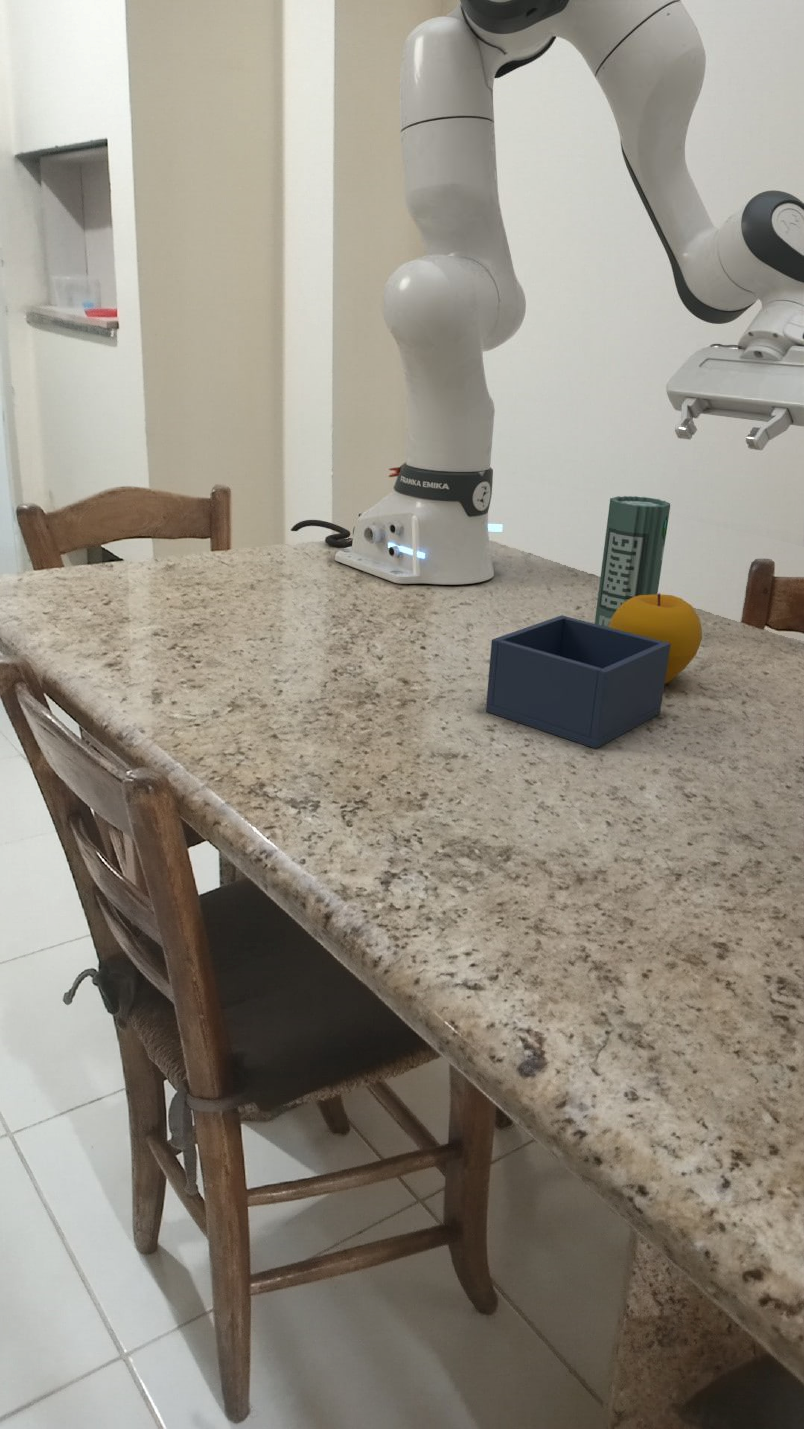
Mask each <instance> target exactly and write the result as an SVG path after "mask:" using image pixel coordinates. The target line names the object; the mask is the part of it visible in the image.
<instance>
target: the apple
mask: <svg viewBox="0 0 804 1429" xmlns="http://www.w3.org/2000/svg"><path fill="white" fill-rule="evenodd" d="M609 628H613V629H617V630H621V631H625V632H628V633H632V634H636V635H640V636H644V637H648V638H652V639H655V640H659V641H663V642H667V643H671V645H670V652H669V658H668V665H667V671H666V678H665V684H667V683H669V682H671V681H673V680H674V679H675V678H676V676H678V675H679V674H680V673H682V671H683V670H685V669H686V668H687V666H688V665H689V664H690V663H691V662H692V660H693V659H694V658H695V657H696V655H697V653H698V651H699V648H700V645H701V643H702V639H703V629H702V624H701V619H700V617H699V616H698V614H697V612H696V610H695V609H694V606H693V605H692V604H690V603H688V602H687V601H686V600H684V599H683V598H681V597H678V596H674V595H670V594H662V593H660V592H658V594H657V595H639V596H635V597H633V598H631V599H629V600H627V601H626V602H624V603H623V604H622V605H621V606H620V607H619V608H618V609H617V610H616V612H615V613H614V615H613V616H612V618H611V621H610V626H609Z"/></svg>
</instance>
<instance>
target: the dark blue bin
mask: <svg viewBox="0 0 804 1429" xmlns="http://www.w3.org/2000/svg"><path fill="white" fill-rule="evenodd" d="M670 645H671V643H667V642H663V641H659V640H655V639H652V638H648V637H644V636H640V635H636V634H632V633H628V632H625V631H621V630H617V629H613V628H609V627H605V626H601V625H597V624H595V622H589V621H585V620H581V619H578V618H573V617H570V616H567V615H562V614H561V615H558V616H556V617H552V618H550V619H547V620H543V621H541V622H538V623H535V624H533V625H529V626H527V627H523V628H520V629H518V630H515V631H511V632H509V633H506V634H503V635H501V636H498V637H495V638H492V639H491V645H490V657H489V669H488V678H487V679H488V681H487V692H486V704H485V712H486V713H490V714H492V715H495V716H499V717H502V718H504V719H507V720H510V721H513V722H516V723H519V724H522V725H525V726H528V727H530V728H534V729H536V730H539V731H542V732H546V733H548V734H550V735H554V736H557V737H559V738H563V739H566V740H569V741H571V742H575V743H577V744H580V745H583V746H587V747H589V748H592V749H595V750H597V749H598V748H601V747H602V746H604V745H607V743H609V742H611V741H613V740H615V739H617V738H619V737H620V736H622V735H624V734H626V733H628V732H629V731H632V730H633V729H635V728H636V727H639V726H641V725H642V724H644V723H646V722H648V721H650V720H652V719H653V718H655V717H657V716H659V715H660V714H661V710H662V704H663V696H664V691H665V684H666V683H665V678H666V671H667V665H668V658H669V652H670Z"/></svg>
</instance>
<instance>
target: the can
mask: <svg viewBox="0 0 804 1429" xmlns="http://www.w3.org/2000/svg"><path fill="white" fill-rule="evenodd" d="M670 511H671V503H670V502H668V501H666V500H661V498H653V497H646V496H636V495H635V496H634V495H633V496H632V495H628V496H627V495H624V496H620V495H619V496H618V495H617V496H614V497H611V498H609V505H608V513H607V521H606V522H607V523H606V529H605V537H604V544H603V554H602V562H601V570H600V577H599V578H600V579H599V585H598V594H597V602H596V610H595V618H594V624H597V625H601V626H605V627H609V626H610V621H611V618H612V616H613V615H614V613H615V612H616V610H617V609H618V608H619V607H620V606H621V605H622V604H623V603H624V602H626V601H627V600H629V599H631V598H633V597H635V596H639V595H658V594H659V586H660V580H661V573H662V566H663V559H664V551H665V546H666V538H667V533H668V532H667V531H668V524H669V517H670Z"/></svg>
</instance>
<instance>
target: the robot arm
mask: <svg viewBox="0 0 804 1429" xmlns="http://www.w3.org/2000/svg"><path fill="white" fill-rule="evenodd" d="M459 1H460V3H458V4H457V5H456V7H455V8H454V9H453V10H452V11H451V12H449V13H447V14H446V15H445V16H436V17H433V18H429V19H427V20H424V21H423V22H421V23H419V25H416V27H414V28H413V29H412V30H411V31H410V32H409V34H408V35H407V37H406V39H405V41H404V43H403V48H402V55H401V64H400V77H399V78H400V79H399V128H400V130H399V131H400V143H401V144H400V146H401V158H402V173H403V184H404V201H405V206H406V209H407V211H408V214H409V216H410V217H411V218H412V221H413V222H414V224H415V226H416V228H417V231H418V233H419V234H418V235H419V237H420V239H421V242H422V247H423V249H424V253H425V255H423V256H420V257H417V258H415V259H413V260H410V261H407V262H404V263H403V264H402V265H400V266H399V267H397V268H396V269H395V270H394V271H393V273H392V274H390V276H389V278H388V280H387V281H386V284H385V287H384V290H383V294H382V300H381V308H382V309H381V310H382V316H383V320H384V323H385V326H386V327H387V329H388V331H389V333H390V334H391V336H392V337H393V339H394V341H395V343H396V346H397V349H398V352H399V353H398V354H399V358H400V363H401V367H402V372H403V378H404V384H405V392H406V403H407V404H406V406H407V414H406V415H407V416H406V417H407V418H406V444H405V445H406V449H405V462H404V463H402V464H401V465H400V466H397V467H392V468H391V467H390V468H388V471H394V472H392V473H389V474H388V475H387V476H388V478H396V477H397V478H396V479H395V483H394V485H393V490H392V491H391V492H390V493H388V494H387V495H386V496H384V497H383V498H382V499H380V500H379V501H378V502H376V503H375V504H373V505H372V506H371V507H369V508H368V509H367V510H365V511H364V512H362V513H358V518H357V519H356V522H355V525H354V527H353V529H352V539H350V540H349V541H341V540H346V539H348V538H349V537H351V531H350V530H349V529H347V528H345V527H343V526H340V525H338V524H336V523H332V522H329V521H325V520H321V519H305V520H301V521H299V522H297V523H296V524H294V525H293V526H292V527H291V529H290V531H291V532H298V531H299V530H301V529H303V528H306V527H318V528H319V527H320V528H325V529H328V530H332V531H334V532H337V533H333V534H329V535H327V536H325V539H324V541H325V543H326V544H327V545H329V546H332V547H334V548H342V549H339V550H337V551H336V553H335V555H334V561H336V562H338V563H341V564H343V565H345V566H349V567H352V568H354V569H357V570H360V571H362V572H365V573H368V574H370V575H373V576H376V577H379V578H381V579H384V580H386V581H389V582H391V583H395V584H403V585H408V584H409V585H412V584H415V585H416V584H429V585H448V586H449V585H450V586H451V585H468V584H469V585H470V584H476V583H477V584H478V583H481V582H486V581H488V580H491V579H492V578H493V577H494V576H495V572H494V567H493V561H492V556H491V547H490V534H489V532H496V533H497V532H501V533H502V532H503V524H500V523H499V524H498V523H489V510H490V507H491V506H490V505H491V502H492V501H491V500H492V495H493V484H494V483H493V481H494V469H493V468H492V467H491V462H492V451H493V450H492V448H493V437H494V423H495V412H496V411H495V403H494V401H493V400H494V399H493V398H492V396H491V395H490V392H489V388H488V384H487V380H486V379H487V378H486V372H485V364H484V358H483V356H484V354H483V353H484V352H489V351H492V350H494V349H496V348H497V347H499V346H501V345H503V344H505V343H506V342H508V341H509V340H510V339H512V338H513V337H514V336H515V335H516V333H517V332H518V331H519V329H520V328H521V326H522V325H523V323H524V319H525V316H526V309H527V300H526V294H525V292H524V289H523V286H522V285H521V282H520V281H519V279H518V277H517V274H516V271H515V269H514V264H513V259H512V255H511V250H510V246H509V241H508V237H507V232H506V229H505V224H504V219H503V215H502V209H501V203H500V195H499V183H498V169H497V168H498V167H497V165H498V164H497V149H496V130H495V112H494V111H495V110H494V83H495V79H499V78H502V77H504V76H505V75H507V74H509V73H511V72H513V71H515V70H517V69H519V68H522V67H524V66H526V65H529V64H531V63H533V62H535V61H536V60H538V59H540V58H541V57H542V56H543V55H545V54H546V52H548V51H549V50H550V48H551V47H552V46H553V45H554V43H555V41H556V39H557V38H560V39H563V40H565V41H567V42H568V43H570V44H571V45H572V46H573V47H574V49H576V50H577V51H578V53H579V54H580V55H581V56H582V58H583V59H584V61H585V62H586V65H587V66H588V69H590V71H591V73H592V75H593V76H594V78H595V79H596V82H597V83H598V85H599V86H600V88H601V90H602V92H603V94H604V95H605V98H606V100H607V102H608V105H609V107H610V110H611V112H612V115H613V117H614V120H615V124H616V127H617V130H618V134H619V141H620V148H621V153H622V154H621V155H622V157H623V161H624V164H625V166H626V169H627V171H628V174H629V176H630V179H631V180H632V183H633V185H634V187H635V190H636V192H637V194H638V196H639V198H640V200H641V202H642V204H643V207H644V208H645V210H646V213H647V216H648V217H649V219H650V221H651V223H652V225H653V227H654V229H655V232H656V234H657V236H658V238H659V240H660V242H661V244H662V246H663V248H664V251H665V253H666V255H667V257H668V258H667V259H668V261H669V264H670V267H671V271H672V276H673V279H674V280H673V281H674V284H675V288H676V291H677V295H678V297H679V299H680V301H681V303H682V304H683V305H684V307H685V309H687V311H688V312H690V314H692V315H693V316H694V317H696V318H697V319H699V320H701V321H703V322H705V323H710V324H714V325H722V324H723V325H724V324H728V323H731V322H733V321H735V320H737V319H738V318H740V317H741V316H742V315H743V314H744V313H745V312H747V310H749V309H750V308H751V307H752V306H753V305H755V303H756V302H757V301H758V300H759V301H760V303H761V308H760V309H759V311H758V313H757V314H756V315H755V317H754V318H753V320H751V322H750V324H749V325H748V327H747V328H746V330H745V331H744V332H743V334H741V337H740V338H739V340H738V342H737V344H723V343H712V344H710V345H709V346H708V347H707V346H706V347H702V348H699V349H698V350H696V351H695V352H693V354H691V355H690V356H689V357H688V358H687V359H686V360H685V361H684V362H683V363H682V364H681V366H680V367H679V368H678V369H677V370H676V372H675V373H674V374H673V375H672V376H671V377H670V378H669V380H668V381H667V383H666V384H665V385H666V386H665V390H666V395H667V397H668V400H669V402H670V404H671V406H672V408H673V409H674V410H675V411H678V412H681V416H680V417H681V419H680V420H679V421H678V422H677V424H676V426H675V428H674V432H675V435H676V436H677V439H682V440H691V439H692V438H693V436H694V435H695V434H696V433H697V431H698V429H697V426H696V425H695V422H694V420H693V419H698V418H699V417H700V416H701V415H709V416H718V417H725V418H731V419H732V418H733V419H741V420H750V421H756V422H757V421H758V422H764V424H763V425H761V426H760V427H754V426H753V427H752V428H751V429H750V431H749V433H748V434H747V435H746V438H745V443H746V444H747V448H748V449H751V450H755V451H756V450H757V451H763V450H764V448H765V447H766V445H768V442H769V441H771V440H773V439H774V438H776V437H778V436H779V435H781V434H783V433H785V432H786V431H788V430H789V428H790V426H795V427H796V426H797V427H804V202H803V201H802V200H801V199H799V198H798V197H797V196H795V195H793V194H791V193H789V192H785V191H781V190H773V189H772V190H766V191H762V192H759V193H758V194H756V195H754V196H753V197H752V198H751V199H750V200H748V201H746V203H745V204H743V205H742V206H741V207H740V208H739V209H738V210H736V211H735V212H734V213H733V214H732V215H730V216H729V217H728V218H727V219H726V220H725V221H724V222H723V223H722V224H721V225H720V226H719V227H716V226H715V225H714V223H713V222H712V220H711V217H710V215H709V213H708V211H707V209H706V207H705V205H704V202H703V200H702V198H701V196H700V193H699V192H698V189H697V187H696V186H695V182H694V181H693V178H692V176H691V174H690V171H689V168H688V166H687V161H686V141H687V140H686V139H687V135H688V130H689V125H690V122H691V118H692V115H693V112H694V110H695V107H696V104H697V102H698V100H699V97H700V95H701V92H702V88H703V83H704V79H705V73H706V67H707V66H706V63H707V56H706V51H705V47H704V44H703V41H702V37H701V35H700V33H699V29H698V27H697V25H696V24H695V21H694V20H693V18H692V17H691V14H690V13H689V12H688V10H687V8H686V7H685V5H684V4H683V3H682V0H459Z"/></svg>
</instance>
